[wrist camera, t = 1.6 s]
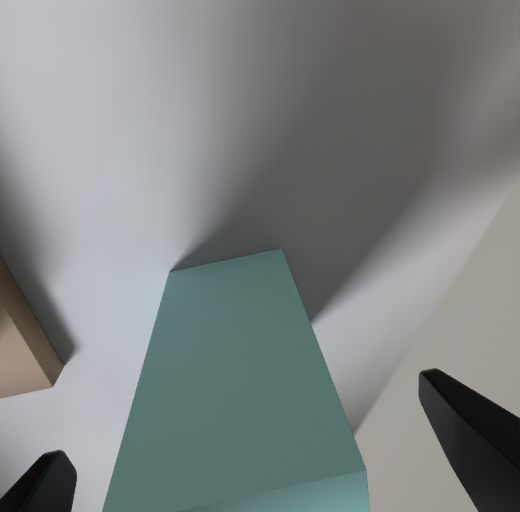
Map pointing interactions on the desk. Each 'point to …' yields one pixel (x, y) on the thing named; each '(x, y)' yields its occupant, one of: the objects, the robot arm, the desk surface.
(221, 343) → the teal block
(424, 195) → the desk surface
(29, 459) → the desk surface
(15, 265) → the desk surface
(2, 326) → the base board
